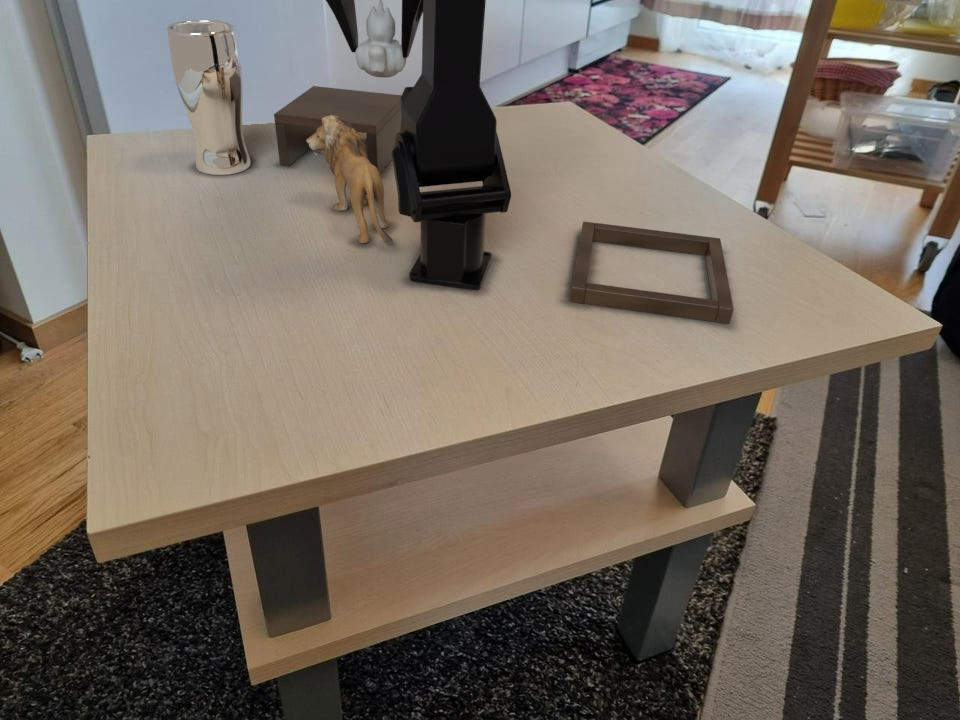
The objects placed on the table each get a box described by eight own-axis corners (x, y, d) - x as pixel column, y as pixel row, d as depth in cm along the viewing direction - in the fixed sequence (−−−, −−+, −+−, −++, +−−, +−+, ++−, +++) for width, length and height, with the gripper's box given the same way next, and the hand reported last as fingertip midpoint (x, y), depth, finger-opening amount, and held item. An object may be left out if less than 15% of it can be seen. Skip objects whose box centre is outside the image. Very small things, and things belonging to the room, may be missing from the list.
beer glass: (232, 180, 80) (208, 36, 71) (179, 170, 81) (149, 28, 72) (266, 160, 85) (248, 24, 76) (216, 151, 87) (193, 16, 78)
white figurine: (409, 71, 81) (409, -6, 77) (401, 88, 76) (400, 6, 71) (362, 68, 81) (359, -10, 77) (351, 84, 76) (346, 2, 71)
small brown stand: (377, 177, 82) (375, 125, 79) (279, 165, 84) (273, 114, 80) (405, 142, 92) (405, 95, 88) (317, 132, 93) (313, 85, 90)
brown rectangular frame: (729, 324, 60) (733, 309, 60) (569, 302, 62) (571, 287, 61) (716, 251, 71) (720, 238, 70) (581, 234, 73) (583, 221, 72)
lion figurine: (308, 197, 77) (299, 113, 72) (353, 188, 79) (348, 107, 74) (368, 254, 67) (363, 162, 62) (417, 242, 70) (417, 152, 64)
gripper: (487, -116, 73) (479, 46, 82) (314, -129, 75) (326, 29, 85) (463, -110, 64) (458, 71, 74) (269, -125, 67) (287, 52, 76)
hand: (380, 54), depth 77 cm, fingers closed on white figurine, 5 cm apart
